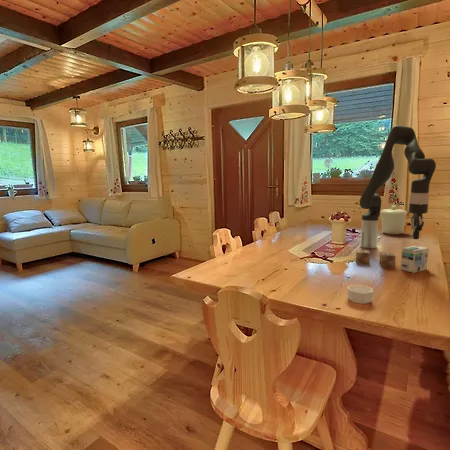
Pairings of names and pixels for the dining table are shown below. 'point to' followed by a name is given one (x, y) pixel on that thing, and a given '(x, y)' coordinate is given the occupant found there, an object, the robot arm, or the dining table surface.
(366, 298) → the ramekin
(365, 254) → the walnut block two
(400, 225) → the canister
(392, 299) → the dining table surface
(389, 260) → the walnut block one
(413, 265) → the light bulb box
